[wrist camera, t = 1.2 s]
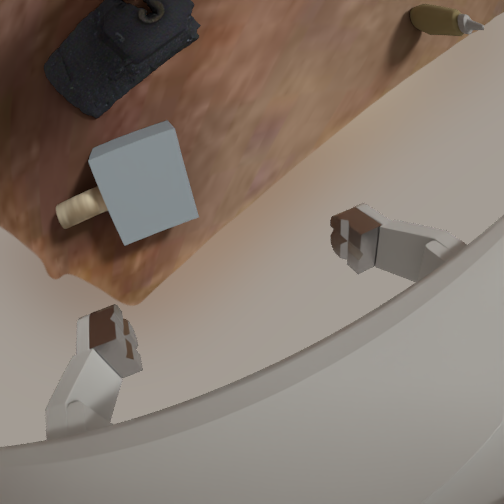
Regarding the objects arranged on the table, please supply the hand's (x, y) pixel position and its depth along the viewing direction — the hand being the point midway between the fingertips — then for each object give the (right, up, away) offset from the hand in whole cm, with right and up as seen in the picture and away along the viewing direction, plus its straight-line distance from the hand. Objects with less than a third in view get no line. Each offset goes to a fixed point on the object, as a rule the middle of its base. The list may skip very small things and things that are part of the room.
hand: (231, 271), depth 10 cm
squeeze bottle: (+38, +54, +32) cm, 73 cm away
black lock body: (-18, +30, +20) cm, 41 cm away
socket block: (-16, +13, +33) cm, 39 cm away
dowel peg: (-23, +9, +30) cm, 39 cm away
